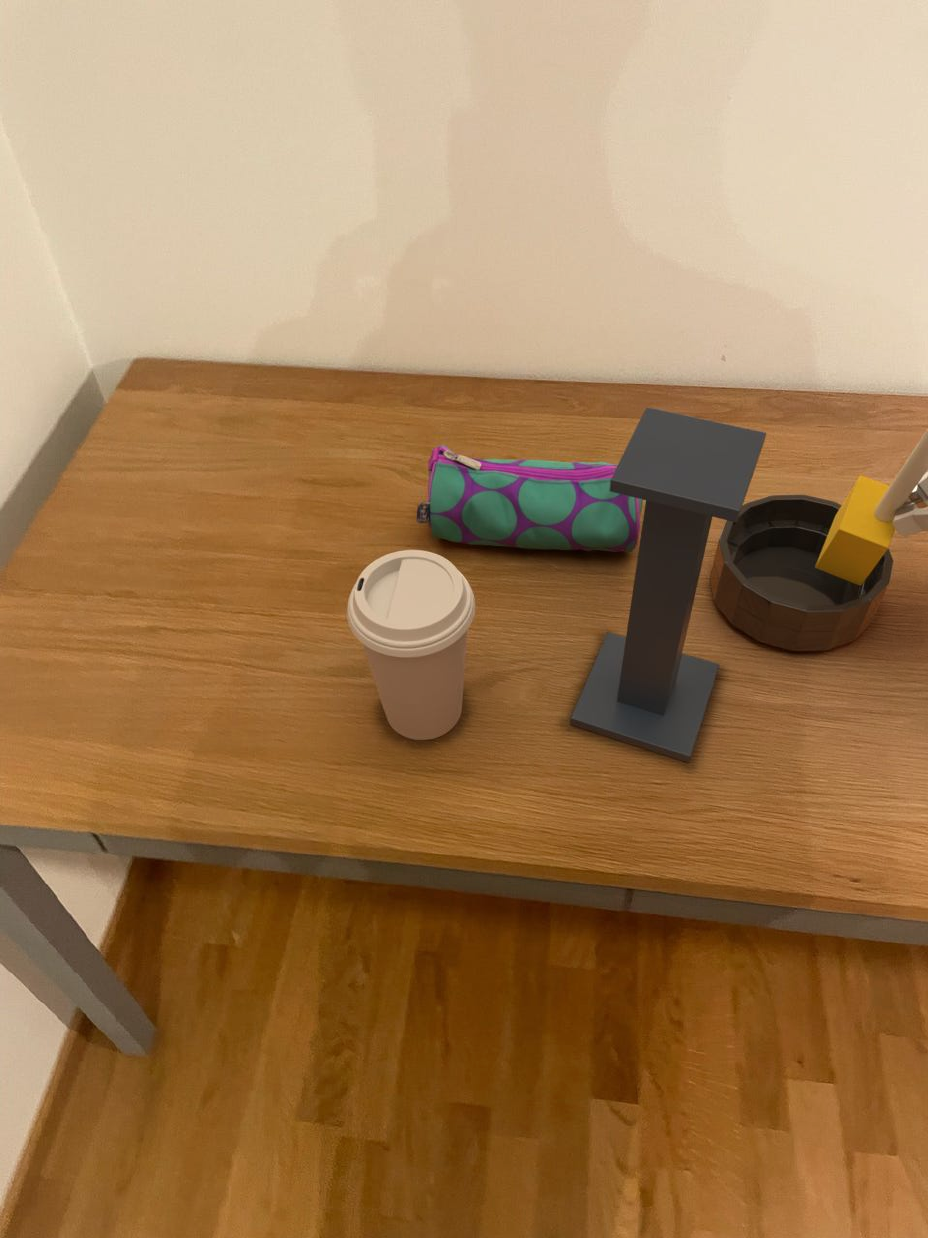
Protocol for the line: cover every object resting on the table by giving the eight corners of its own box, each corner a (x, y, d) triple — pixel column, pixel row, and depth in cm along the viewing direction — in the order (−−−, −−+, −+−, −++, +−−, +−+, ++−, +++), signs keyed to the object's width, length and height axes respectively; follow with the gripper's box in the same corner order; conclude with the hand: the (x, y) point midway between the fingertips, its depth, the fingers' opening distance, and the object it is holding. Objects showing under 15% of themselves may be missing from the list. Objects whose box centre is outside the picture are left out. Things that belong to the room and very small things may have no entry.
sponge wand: (985, 380, 64) (927, 361, 65) (965, 442, 61) (905, 420, 62) (880, 533, 80) (835, 515, 81) (860, 586, 78) (814, 568, 79)
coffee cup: (406, 649, 83) (390, 526, 71) (500, 690, 79) (498, 568, 68) (345, 726, 77) (316, 607, 66) (442, 774, 74) (429, 657, 63)
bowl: (881, 563, 87) (901, 516, 83) (859, 676, 79) (880, 631, 74) (728, 525, 91) (740, 479, 87) (692, 629, 83) (702, 583, 78)
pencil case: (420, 559, 90) (412, 483, 83) (434, 498, 96) (427, 422, 89) (636, 574, 88) (647, 497, 80) (637, 511, 93) (648, 434, 86)
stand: (718, 671, 80) (785, 426, 60) (688, 763, 74) (752, 525, 54) (606, 638, 83) (636, 394, 63) (569, 724, 77) (589, 485, 57)
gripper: (1119, 575, 58) (904, 631, 68) (1113, 392, 70) (932, 463, 80) (1073, 504, 56) (859, 574, 66) (1075, 329, 68) (894, 410, 78)
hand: (899, 512), depth 73 cm, fingers closed on sponge wand
